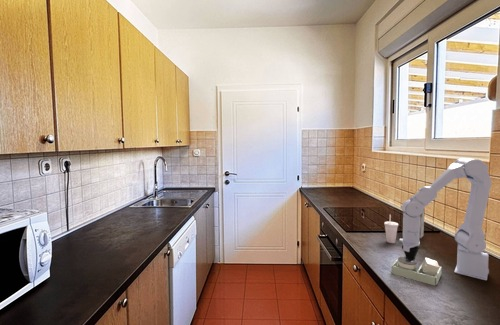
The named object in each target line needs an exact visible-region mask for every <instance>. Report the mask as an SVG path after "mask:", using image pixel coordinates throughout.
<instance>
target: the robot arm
mask: <svg viewBox="0 0 500 325" xmlns="http://www.w3.org/2000/svg"><path fill="white" fill-rule="evenodd" d="M488 169H489V166H488V165H487V164H486V163H485V162H484V161H482V160H480V159H477V158H466V157H460V158H457V159H456V160H455V161H454V162H453V163H451V164H450V165H449V166H448V167H447V169H445V171H443V172H442V173H441V174H440V175H439V176H438V177H437V178H436V179H435V180H434V181H433V182H432V183H431V184H430V185H429V186H425V185H424V186H423V187H419V188H418V191H417V192H416V193H415V194H414V195H413V196H409V198H408V199H406V200H404V201H403V202H402V205H400V209H401V210H402V212H403V213H402V238H399V242H401V243H402V245H401V249H402V250H403V252H404V255H405V256H404V257H410V258H413V259H415V260H416V257H417V255H418V254H417V253H418V251H419V250H420V247H421V246H420V244H421V242H420V238H419V229H420V215H421V214H422V212H423V208H424V209H425V208H426V207H427V206H428V205H430V204H431V203H432V202H433V201H434V200H435V199H436V198H438V192H439V191H441V190H442V189H444V188H445V187H446V186H447V185H448V184H450V183H451V182H453V181H454V180H456V179H463V178H466V180H467V181H468V182H470V183H471V186H470V192H469V197H468V200H467V205H466V209H465V215H464V219H463V223H461V224H460V225H459V227H458V230H457V231H456V232H455V233H454V240H455V242H456V243H457V249H456V250H457V253H456V254H457V255H456V266H455V268H454V273H455V274H458V275H463V276H468V277H471V278H475V279H479V280H483V281H488V276H489V274H490V269H489V253H487V252H484V251H485V249H486V247H487V243H486V239H485V237H486V234H485V232H484V229H483V223H484V218H485V213H486V211H487V210H486V208H487V206H488V200H489V196H490V191H491V187H492V179H491V177H490V173H489V171H488Z"/></svg>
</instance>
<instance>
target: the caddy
mask: <svg viewBox="0 0 500 325" xmlns="http://www.w3.org/2000/svg"><path fill="white" fill-rule="evenodd" d="M390 266H391V267H390V268H391V272H390V273H391V274H393V275H395V276H400V277H404V278H407V279H409V280H414V281H418V282H421V283H424V284H427V285H431V286H434V287H436V286H437V284H438V283H439V280H440V278H441V276H442V266H440V265H439V267H440V268H439V270H438V272H437V274H436V276H435V277H433V276H429V275H426V274H422V273H423V269H422V264H420V266H419V268H417V272H414V271H411V270H407V269H403V268H399V267H398V258H397V259H396V260H395V261H394V262H393V264H392V265H390Z"/></svg>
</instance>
